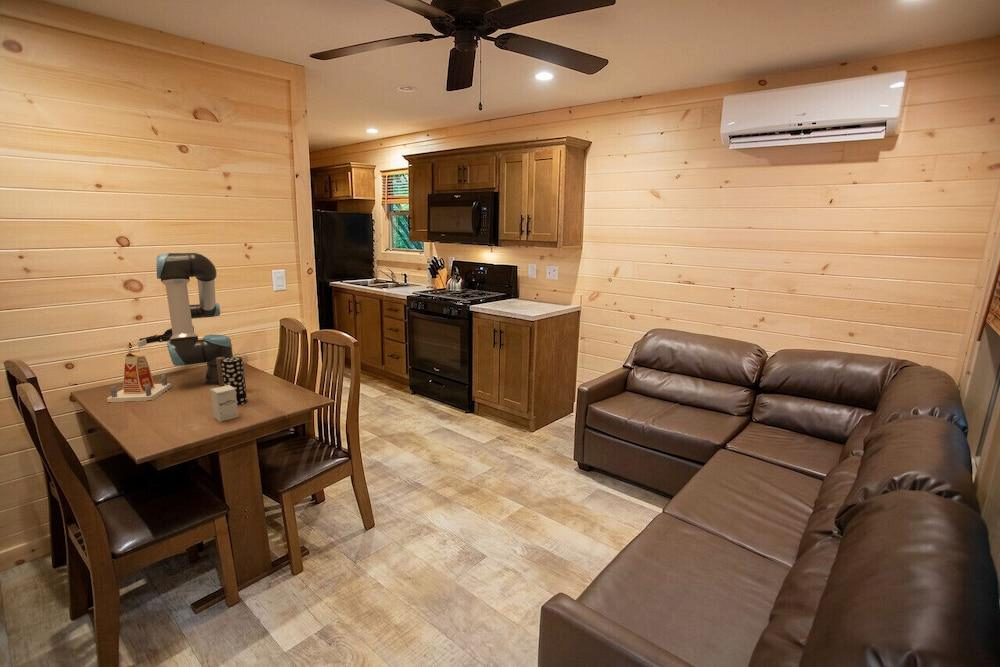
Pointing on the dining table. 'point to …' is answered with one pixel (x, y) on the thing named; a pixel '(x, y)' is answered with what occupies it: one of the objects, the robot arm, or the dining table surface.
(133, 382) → the milk carton
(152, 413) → the dining table surface
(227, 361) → the white-spotted black cylinder
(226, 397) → the supplement box
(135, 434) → the dining table surface
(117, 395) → the peg platform
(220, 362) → the wooden block
